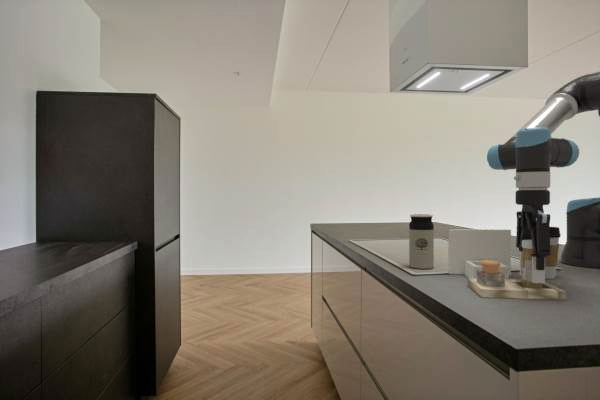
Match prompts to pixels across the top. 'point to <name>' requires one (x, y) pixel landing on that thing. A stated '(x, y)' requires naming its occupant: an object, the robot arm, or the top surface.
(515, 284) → the socket block
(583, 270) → the top surface
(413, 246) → the travel mug
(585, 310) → the top surface
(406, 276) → the top surface
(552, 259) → the coffee cup
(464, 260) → the tall white box
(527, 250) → the sprinkles bottle
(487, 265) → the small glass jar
